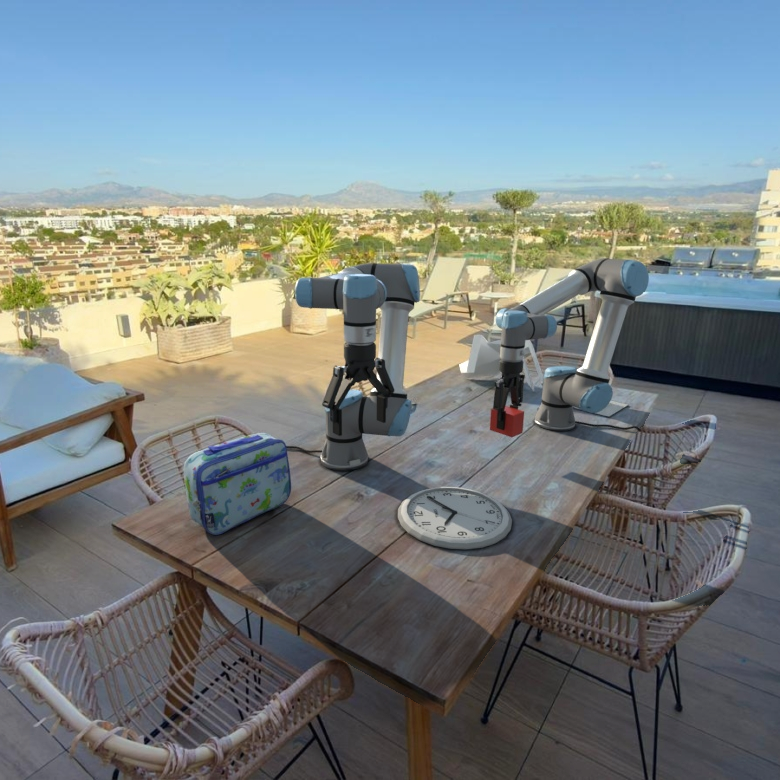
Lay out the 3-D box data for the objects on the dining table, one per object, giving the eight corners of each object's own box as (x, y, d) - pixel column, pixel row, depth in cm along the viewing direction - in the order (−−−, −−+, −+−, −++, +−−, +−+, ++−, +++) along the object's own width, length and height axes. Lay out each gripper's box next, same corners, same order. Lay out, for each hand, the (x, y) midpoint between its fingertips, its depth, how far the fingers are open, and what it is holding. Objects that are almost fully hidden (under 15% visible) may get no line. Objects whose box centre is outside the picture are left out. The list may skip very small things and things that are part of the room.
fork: (400, 412, 215) (400, 407, 215) (412, 400, 229) (412, 396, 229) (406, 412, 214) (406, 408, 214) (418, 401, 229) (418, 397, 228)
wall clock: (528, 541, 125) (404, 545, 122) (528, 547, 125) (404, 551, 123) (494, 482, 153) (392, 485, 151) (494, 487, 154) (392, 490, 151)
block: (489, 429, 177) (491, 408, 175) (500, 425, 181) (501, 404, 179) (511, 437, 171) (513, 415, 168) (522, 432, 175) (524, 411, 172)
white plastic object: (480, 420, 263) (459, 397, 239) (461, 347, 286) (440, 319, 261) (551, 396, 251) (537, 369, 226) (526, 322, 273) (511, 290, 249)
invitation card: (608, 416, 214) (573, 407, 224) (608, 416, 214) (573, 408, 224) (628, 404, 229) (594, 396, 238) (628, 405, 229) (594, 397, 238)
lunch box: (204, 544, 124) (196, 463, 118) (184, 526, 131) (176, 449, 125) (295, 506, 142) (292, 434, 136) (274, 491, 149) (270, 423, 143)
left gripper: (324, 352, 111) (326, 444, 117) (409, 338, 127) (407, 420, 133) (305, 346, 116) (308, 435, 123) (389, 333, 132) (388, 412, 139)
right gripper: (503, 366, 159) (498, 437, 167) (538, 356, 172) (532, 422, 179) (484, 362, 165) (479, 430, 172) (518, 352, 177) (513, 416, 184)
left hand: (359, 427), depth 128 cm, fingers open, 13 cm apart
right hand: (506, 426), depth 175 cm, fingers closed on block, 6 cm apart
